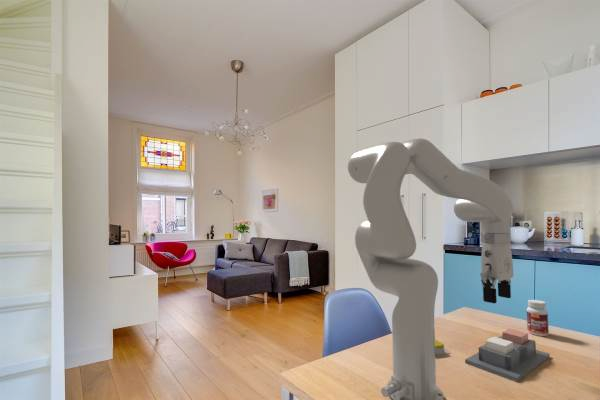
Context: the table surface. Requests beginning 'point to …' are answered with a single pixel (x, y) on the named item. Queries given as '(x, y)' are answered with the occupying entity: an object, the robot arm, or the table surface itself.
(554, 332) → the table surface
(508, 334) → the terracotta key
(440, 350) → the emergency button
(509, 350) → the cream key
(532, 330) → the pill bottle
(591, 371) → the table surface
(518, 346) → the key panel
